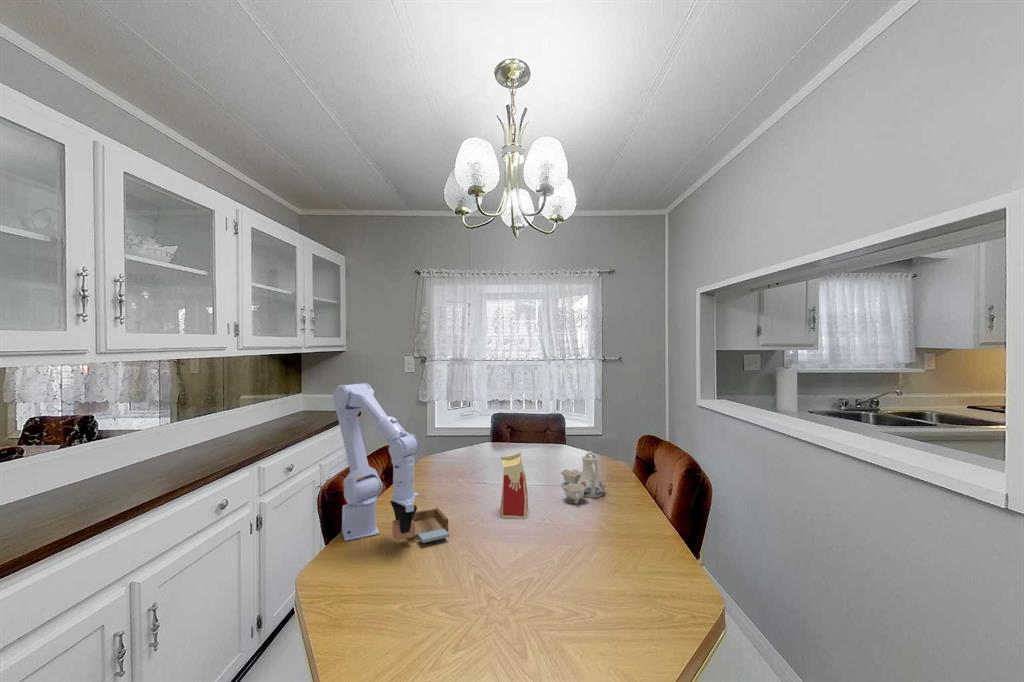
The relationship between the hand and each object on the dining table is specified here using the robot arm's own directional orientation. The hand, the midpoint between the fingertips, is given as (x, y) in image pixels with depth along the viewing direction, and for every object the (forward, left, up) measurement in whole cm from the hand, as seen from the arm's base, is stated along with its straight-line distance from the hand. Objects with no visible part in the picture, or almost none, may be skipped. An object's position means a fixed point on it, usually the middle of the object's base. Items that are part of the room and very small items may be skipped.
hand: (403, 529), depth 112 cm
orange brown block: (0, 0, -2) cm, 2 cm away
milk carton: (+38, +5, -5) cm, 38 cm away
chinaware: (+69, +9, -5) cm, 70 cm away
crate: (+8, +6, -4) cm, 11 cm away
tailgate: (+8, +1, -3) cm, 9 cm away
